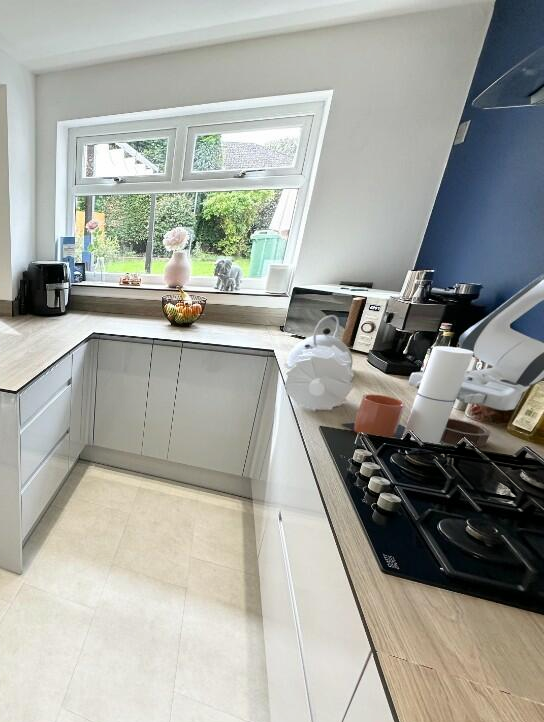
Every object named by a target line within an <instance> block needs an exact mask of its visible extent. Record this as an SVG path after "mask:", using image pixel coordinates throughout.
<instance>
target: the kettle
mask: <svg viewBox="0 0 544 722" xmlns="http://www.w3.org/2000/svg"><path fill="white" fill-rule="evenodd" d="M329 318H334V319H335V321H336V327H335V330H334V333H333V335H329V334H331V329H330V328H328V327H325V328H324V329H323V330H322V333H323V334H320V335H319V334H318V330H319V327H320V325H321V324H322V323H323V321H325V320H328V319H329ZM339 327H340V320H339V317H338V316H336V315H335V314H330V315H327V316H324V317H323V318H321V319H320V320H319V321H318V323H317V325H316V326H315V327H314V331H313V335H311V336H309V337H307V338H304V339H302V340H300V341H299V342H298V343H296V344H295V346H293V347H292V349H291V351H290V352H289V355H288V357H287V361H286V366H287V367H288V368H290V366H291V365H293V364H294V361H295V360H296V359H297V358H298V356H300V355H302V354H303V353H302V351H304V350H308V349H312V348H316V346H317V345H321V346H326V347H332V346H333V345H335V346H336V347H337V348H338V349H340V350H341V351H342V352H348V353H349V356H350V360H351V363H349V364H350V371H352V368H353V363H354V362H353V360H354V359H353V354H352V352H351V350H350V347H348V346H347V344H346V343H344V341H342V340H341V339H339V338H337V337H336V336H337V334H338V331H339ZM317 334H318V335H317ZM287 364H288V365H287Z"/></svg>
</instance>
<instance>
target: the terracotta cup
mask: <svg viewBox="0 0 544 722" xmlns="http://www.w3.org/2000/svg"><path fill="white" fill-rule="evenodd" d="M405 406H406V404H405V402H404V401H402V400H401V399H398V398H395V397H392V396H388V395H381V394H375V393H374V394H373V393H369V394H363V395H362V397H361V400H360V404H359V407H358V411H357V413H356V417H355V421H354V423H355V424H354V432H355V433H356V434H358V435H360V433H359V432H363V433H366V434H372V435H379V436H385V437H394V436H395V433H396V430H397V427H398V424H399V425H400V421H401V419H402V416H403V412H404V410H405Z"/></svg>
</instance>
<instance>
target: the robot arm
mask: <svg viewBox="0 0 544 722" xmlns="http://www.w3.org/2000/svg"><path fill="white" fill-rule="evenodd" d="M542 301H544V273H542V274H541V275H539V276H537V278H535V279H534V280H532V281H531V282H529V283H528V284H527V285H526V286H524V287H523V288H522V289H520V290H519V291H518V292H516V293H515V294H513V295H512V296H511V297H510V298H508V300H506V301H504V302H503V303H502V304H501V305H500V306H498V307H497V308H496V309H494V310H493V311H492V312H490V313H489V314H488V315H487V316H485V317H484V318H482V319H481V320H479V321H478V322H477V323H475V324H474V325H472V326H470V327H469V328H468V329H467V330H465V331H464V332H463V333H462V334H460V336H459V338H458V345H459V348H462V349H467V350H470V351H473V352H474V353H473V356H472V358H474V359H477V360H479V361H480V362H481V361H482V362H483V363H485V364H487V365H489V366H490V367H489V368H484V369H483V368H481V369H480V368H479V369H472V370H467V372H466V374H465V377H464V380H463V382H462V385H461V388H460V390H459V393H458V395H457V398H456V400H458V401H459V402H462V403H465V404H470V405H475V404H476V405H480V406H483V407H487V408H491V409H494V410H498V411H510V410H511V411H512V410H515V408H516V407H517V406H518V404H519V402H520V400H521V397H522V396H523V393H524V392H526V391H527V390H528V389H529V388H530V387H531V386H535V385H538V384H539V383H541V382H543V380H544V342H542V341H539V340H538V339H536V338H533V337H530V336H527V335H525V334H523V333H521V332H519V331H517V330H514V329H513V328H511V324H512V323H513V322H515V321H516V320H517V319H519V318H520V317H521V316H523V315H524V314H526V313H527V312H528V311H530V310H531V309H532V308H534V307H535V306H537V305H538V304H539V303H541V302H542ZM424 372H425V371H416V372H411V374H410V376H409V379H408V384H409V385H410V386H412V387H414V389H417V390H419V387H420V384H421V381H422V378H423V375H424Z"/></svg>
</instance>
